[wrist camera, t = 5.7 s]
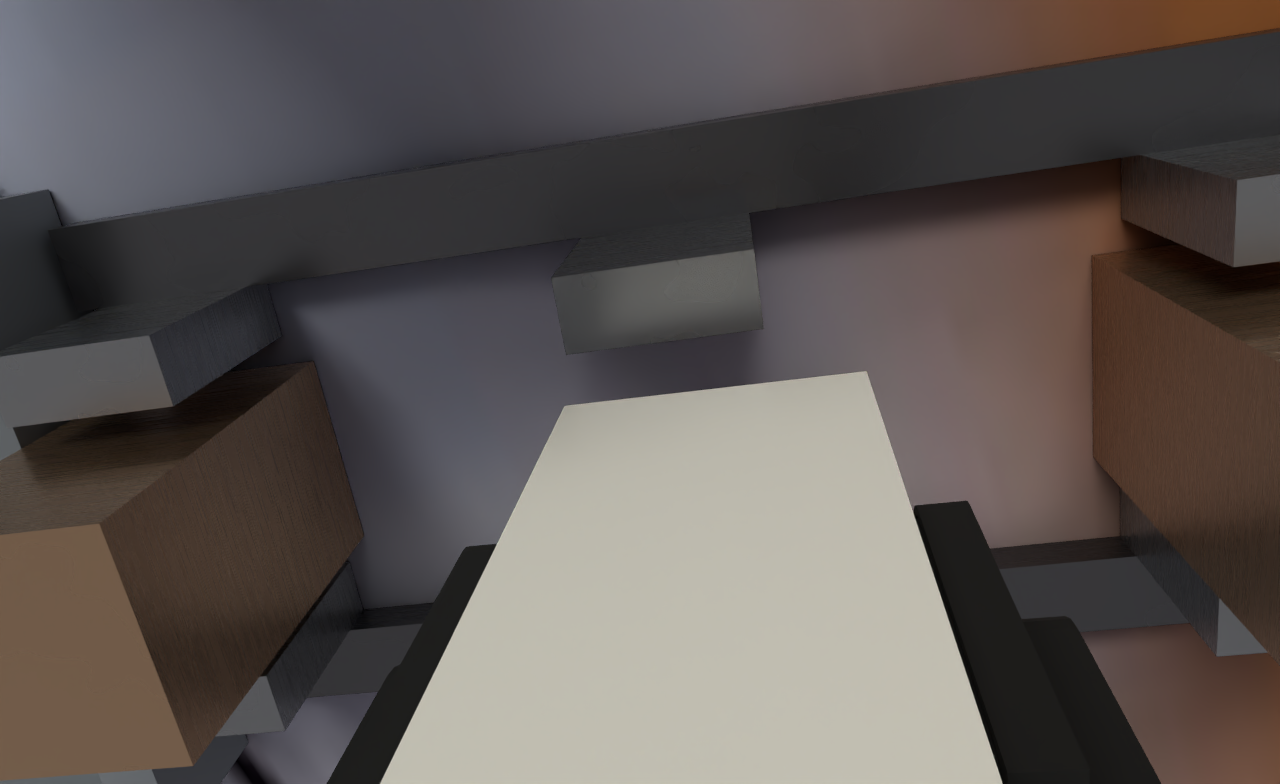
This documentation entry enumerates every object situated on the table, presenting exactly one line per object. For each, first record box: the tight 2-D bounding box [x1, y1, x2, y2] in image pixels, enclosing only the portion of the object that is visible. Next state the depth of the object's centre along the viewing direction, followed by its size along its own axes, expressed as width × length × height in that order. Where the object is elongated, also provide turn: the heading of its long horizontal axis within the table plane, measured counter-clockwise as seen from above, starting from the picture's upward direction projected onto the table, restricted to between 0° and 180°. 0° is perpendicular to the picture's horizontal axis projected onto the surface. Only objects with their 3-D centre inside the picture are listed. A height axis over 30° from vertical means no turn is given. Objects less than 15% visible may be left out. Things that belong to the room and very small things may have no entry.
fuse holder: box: [0, 28, 1280, 781], centre depth 16 cm, size 23×11×7 cm, turn 99°
